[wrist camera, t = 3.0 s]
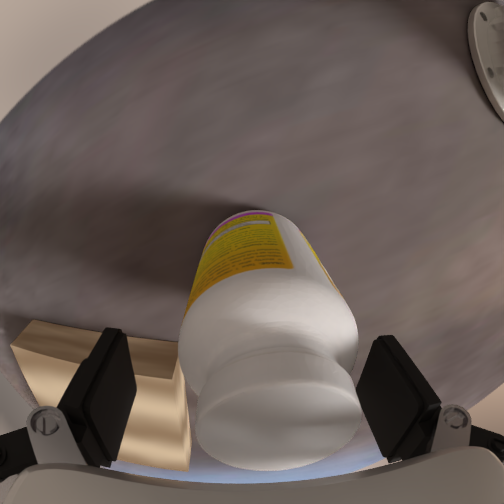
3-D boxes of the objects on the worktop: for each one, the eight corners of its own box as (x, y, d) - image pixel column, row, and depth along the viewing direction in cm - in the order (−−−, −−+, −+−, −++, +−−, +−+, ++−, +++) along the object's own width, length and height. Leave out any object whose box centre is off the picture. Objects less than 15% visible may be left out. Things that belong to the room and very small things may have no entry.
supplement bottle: (185, 274, 19) (126, 446, 7) (238, 186, 17) (233, 294, 5) (271, 319, 21) (297, 491, 9) (328, 243, 19) (435, 390, 7)
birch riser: (33, 319, 20) (10, 344, 16) (181, 342, 21) (172, 379, 17) (74, 418, 25) (63, 443, 21) (191, 441, 26) (188, 471, 22)
